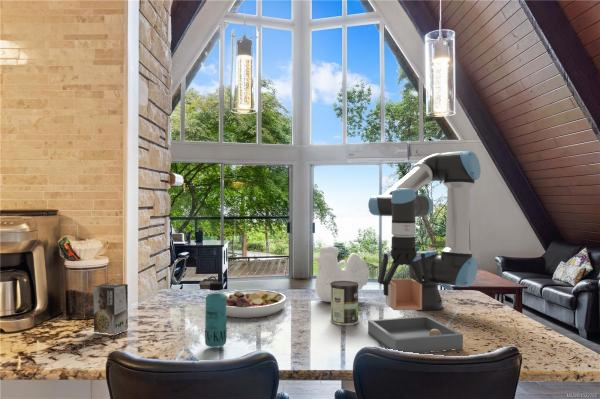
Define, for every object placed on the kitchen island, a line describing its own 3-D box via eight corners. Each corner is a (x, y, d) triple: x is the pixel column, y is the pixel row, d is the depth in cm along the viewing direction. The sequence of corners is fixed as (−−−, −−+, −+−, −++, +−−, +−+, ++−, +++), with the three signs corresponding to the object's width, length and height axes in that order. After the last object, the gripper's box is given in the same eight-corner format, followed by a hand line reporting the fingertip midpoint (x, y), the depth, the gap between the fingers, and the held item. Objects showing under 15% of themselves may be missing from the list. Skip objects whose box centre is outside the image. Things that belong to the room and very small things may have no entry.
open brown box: (385, 302, 136) (385, 279, 136) (412, 302, 137) (412, 278, 137) (393, 310, 127) (394, 284, 127) (422, 309, 128) (422, 284, 128)
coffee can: (359, 318, 154) (359, 281, 154) (357, 326, 144) (357, 286, 144) (332, 316, 156) (332, 279, 156) (328, 324, 146) (328, 285, 146)
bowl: (221, 300, 182) (221, 282, 182) (288, 301, 181) (288, 283, 181) (202, 320, 152) (202, 299, 152) (282, 321, 151) (282, 300, 151)
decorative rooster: (316, 307, 170) (316, 247, 170) (312, 298, 185) (312, 243, 185) (375, 306, 171) (375, 247, 171) (367, 297, 187) (367, 243, 187)
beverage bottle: (206, 344, 125) (206, 280, 125) (228, 344, 126) (228, 279, 126) (203, 352, 119) (203, 284, 119) (226, 352, 120) (226, 284, 120)
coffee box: (128, 331, 139) (128, 283, 139) (114, 337, 132) (114, 287, 132) (107, 328, 142) (107, 282, 142) (92, 334, 135) (92, 285, 135)
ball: (439, 344, 125) (433, 337, 124) (430, 341, 128) (424, 334, 127) (445, 335, 126) (439, 328, 125) (436, 332, 129) (430, 325, 128)
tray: (427, 328, 141) (427, 315, 141) (462, 349, 122) (462, 334, 122) (368, 333, 136) (368, 320, 136) (395, 355, 117) (395, 340, 117)
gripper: (373, 237, 127) (373, 308, 127) (440, 236, 129) (440, 307, 129) (367, 235, 135) (367, 302, 135) (431, 234, 137) (431, 301, 136)
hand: (403, 305), depth 132 cm, fingers closed on open brown box, 9 cm apart
